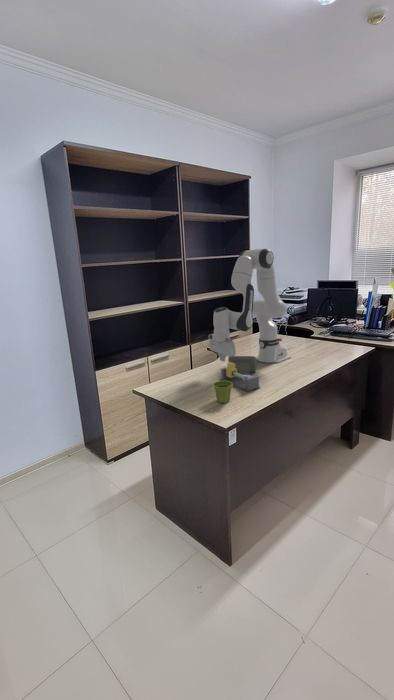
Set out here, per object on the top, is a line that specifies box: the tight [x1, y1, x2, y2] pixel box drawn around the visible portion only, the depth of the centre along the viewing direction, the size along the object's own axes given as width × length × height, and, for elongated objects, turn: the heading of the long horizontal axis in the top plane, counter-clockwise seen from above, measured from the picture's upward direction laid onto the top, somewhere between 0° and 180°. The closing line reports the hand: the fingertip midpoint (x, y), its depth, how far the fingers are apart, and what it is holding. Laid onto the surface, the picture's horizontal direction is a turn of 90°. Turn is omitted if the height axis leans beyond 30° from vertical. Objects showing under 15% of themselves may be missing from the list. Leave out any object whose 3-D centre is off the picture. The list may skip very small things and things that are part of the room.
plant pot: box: [212, 380, 233, 404], centre depth 166 cm, size 9×9×9 cm
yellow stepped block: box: [225, 361, 237, 378], centre depth 191 cm, size 4×4×7 cm
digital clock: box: [227, 355, 257, 375], centre depth 203 cm, size 16×9×11 cm, turn 65°
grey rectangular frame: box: [219, 367, 261, 393], centre depth 186 cm, size 23×9×6 cm, turn 33°
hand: (222, 360), depth 196 cm, fingers closed
